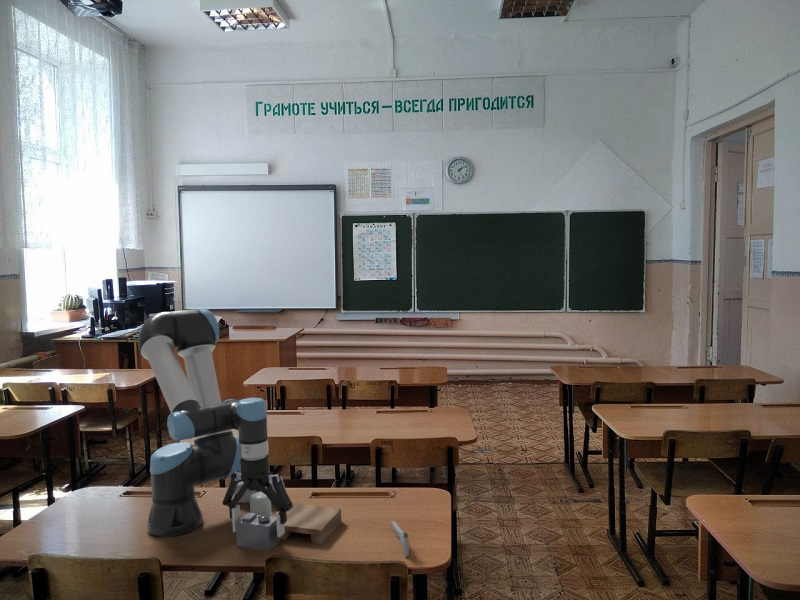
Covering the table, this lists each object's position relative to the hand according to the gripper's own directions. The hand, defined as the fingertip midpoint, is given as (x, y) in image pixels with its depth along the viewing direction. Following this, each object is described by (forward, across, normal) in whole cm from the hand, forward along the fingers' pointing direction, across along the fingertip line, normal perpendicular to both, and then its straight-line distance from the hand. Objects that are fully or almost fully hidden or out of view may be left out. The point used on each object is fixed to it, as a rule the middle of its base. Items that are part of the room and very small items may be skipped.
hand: (258, 532), depth 163 cm
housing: (+4, 0, 0) cm, 4 cm away
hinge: (+3, -15, +26) cm, 30 cm away
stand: (+3, +10, +11) cm, 15 cm away
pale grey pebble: (+3, -6, +12) cm, 14 cm away
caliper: (+4, +36, +12) cm, 38 cm away
